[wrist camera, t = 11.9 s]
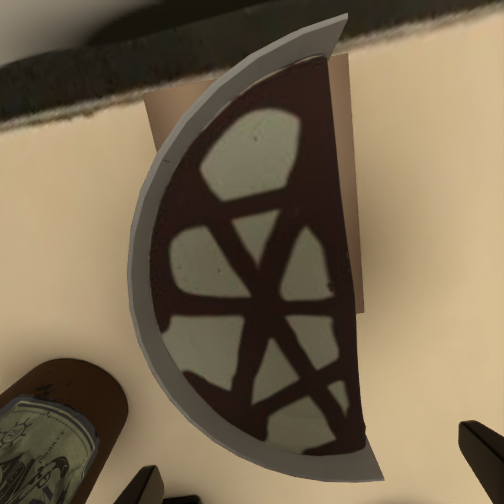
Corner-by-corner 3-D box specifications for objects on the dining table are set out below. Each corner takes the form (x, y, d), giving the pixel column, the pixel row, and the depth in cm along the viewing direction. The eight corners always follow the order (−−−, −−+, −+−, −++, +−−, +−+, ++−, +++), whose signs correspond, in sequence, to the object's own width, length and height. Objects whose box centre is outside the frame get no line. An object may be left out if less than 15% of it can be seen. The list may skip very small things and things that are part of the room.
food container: (172, 142, 14) (4, 55, 5) (281, 120, 14) (345, -26, 4) (220, 333, 17) (180, 521, 8) (310, 318, 17) (386, 494, 7)
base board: (210, 315, 20) (203, 336, 17) (161, 109, 17) (142, 93, 14) (348, 293, 20) (364, 312, 17) (330, 77, 16) (347, 53, 13)
